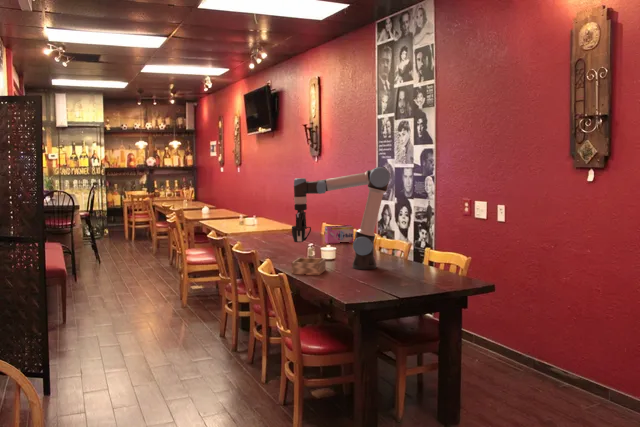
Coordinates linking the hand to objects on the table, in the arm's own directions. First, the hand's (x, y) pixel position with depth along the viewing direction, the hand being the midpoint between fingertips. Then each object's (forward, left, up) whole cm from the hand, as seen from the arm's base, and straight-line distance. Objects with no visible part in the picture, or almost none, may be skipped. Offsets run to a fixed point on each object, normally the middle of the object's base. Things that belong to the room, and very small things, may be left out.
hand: (301, 240), depth 363 cm
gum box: (0, -123, -19) cm, 124 cm away
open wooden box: (-6, +4, -19) cm, 20 cm away
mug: (0, -1, -1) cm, 1 cm away
